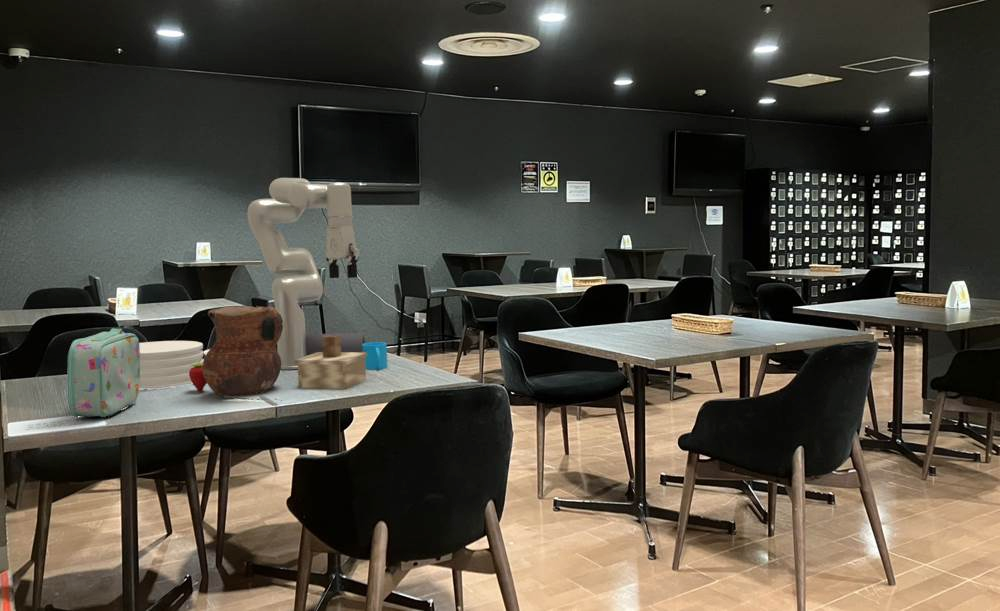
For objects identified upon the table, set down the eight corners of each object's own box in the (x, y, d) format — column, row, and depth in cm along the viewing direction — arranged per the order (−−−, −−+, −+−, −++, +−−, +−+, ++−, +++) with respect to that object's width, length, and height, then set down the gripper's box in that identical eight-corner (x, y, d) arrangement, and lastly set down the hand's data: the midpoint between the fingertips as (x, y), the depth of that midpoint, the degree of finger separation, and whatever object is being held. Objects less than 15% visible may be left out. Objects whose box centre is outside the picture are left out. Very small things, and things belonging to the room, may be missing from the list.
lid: (295, 364, 242) (294, 339, 241) (318, 355, 257) (317, 332, 256) (347, 364, 238) (346, 339, 238) (367, 356, 254) (366, 333, 253)
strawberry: (209, 388, 250) (207, 355, 249) (213, 392, 243) (211, 358, 242) (188, 390, 247) (186, 357, 246) (191, 394, 241) (189, 360, 240)
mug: (361, 366, 285) (360, 343, 284) (384, 365, 287) (384, 341, 287) (367, 372, 273) (366, 347, 273) (391, 370, 276) (391, 346, 275)
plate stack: (191, 372, 282) (190, 338, 281) (215, 383, 259) (213, 347, 258) (101, 381, 266) (99, 346, 265) (117, 395, 243) (115, 356, 242)
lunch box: (107, 401, 233) (102, 325, 231) (145, 400, 234) (141, 324, 232) (64, 423, 206) (58, 337, 205) (107, 422, 207) (102, 336, 205)
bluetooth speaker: (298, 364, 293) (297, 336, 292) (302, 360, 302) (301, 332, 301) (363, 362, 295) (362, 334, 294) (365, 358, 304) (364, 331, 303)
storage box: (298, 391, 243) (297, 363, 242) (320, 381, 257) (319, 356, 257) (347, 392, 240) (346, 364, 239) (366, 382, 254) (365, 356, 253)
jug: (214, 404, 225) (209, 313, 223) (195, 393, 243) (190, 307, 241) (293, 394, 238) (289, 307, 235) (270, 384, 255) (266, 302, 253)
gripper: (314, 224, 263) (317, 278, 264) (346, 221, 251) (349, 278, 252) (334, 224, 268) (337, 277, 269) (366, 221, 256) (369, 276, 257)
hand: (343, 277), depth 260 cm, fingers open, 9 cm apart
